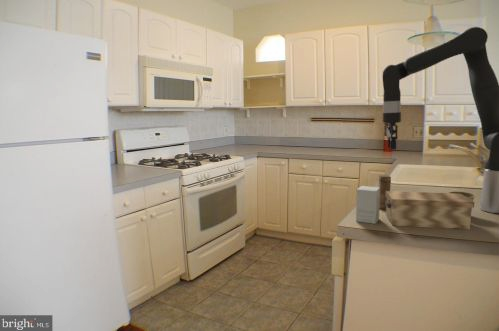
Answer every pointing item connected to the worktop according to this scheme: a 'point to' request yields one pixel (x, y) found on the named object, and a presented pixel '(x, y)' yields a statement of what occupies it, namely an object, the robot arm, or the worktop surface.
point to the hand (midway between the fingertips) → (391, 148)
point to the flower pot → (465, 194)
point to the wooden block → (384, 189)
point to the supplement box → (367, 204)
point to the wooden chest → (428, 209)
